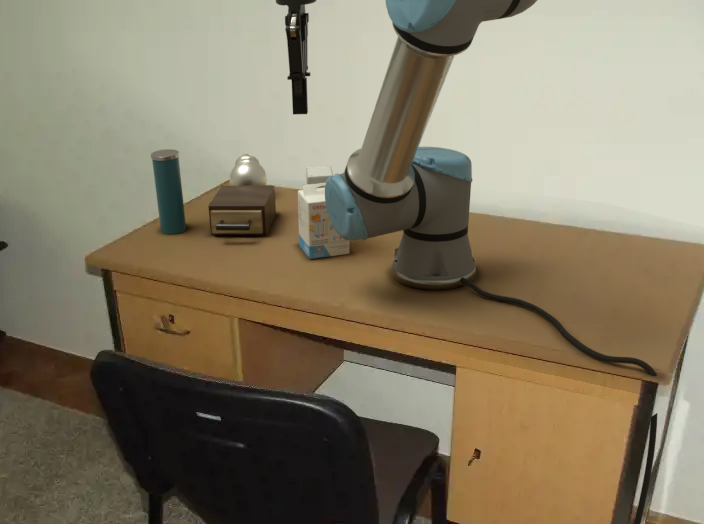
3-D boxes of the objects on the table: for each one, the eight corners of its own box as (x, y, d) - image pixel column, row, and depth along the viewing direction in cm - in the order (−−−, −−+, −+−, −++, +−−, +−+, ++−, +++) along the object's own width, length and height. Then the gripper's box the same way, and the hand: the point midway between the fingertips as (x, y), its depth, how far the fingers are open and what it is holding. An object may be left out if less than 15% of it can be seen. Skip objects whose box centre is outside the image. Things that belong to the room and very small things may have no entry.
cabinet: (266, 235, 187) (264, 205, 184) (210, 235, 189) (208, 205, 186) (276, 213, 199) (274, 185, 195) (223, 213, 201) (221, 185, 198)
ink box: (308, 260, 174) (306, 194, 167) (298, 245, 181) (295, 181, 175) (350, 254, 175) (350, 188, 169) (338, 239, 183) (337, 176, 176)
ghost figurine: (273, 191, 213) (271, 150, 208) (261, 204, 205) (258, 162, 200) (238, 190, 215) (235, 149, 210) (225, 202, 208) (221, 160, 203)
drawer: (258, 240, 182) (257, 218, 180) (207, 240, 184) (205, 218, 182) (271, 213, 196) (270, 192, 194) (224, 213, 198) (222, 192, 196)
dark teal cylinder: (192, 229, 193) (184, 152, 185) (169, 236, 190) (160, 158, 182) (177, 222, 198) (168, 147, 189) (155, 229, 195) (145, 153, 186)
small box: (334, 222, 191) (333, 175, 186) (308, 224, 192) (307, 176, 186) (332, 210, 198) (331, 164, 193) (307, 211, 199) (306, 165, 193)
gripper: (280, -24, 164) (286, 105, 175) (269, -15, 153) (275, 122, 164) (320, -26, 162) (323, 104, 174) (312, -17, 151) (315, 121, 163)
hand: (300, 113), depth 169 cm, fingers closed
